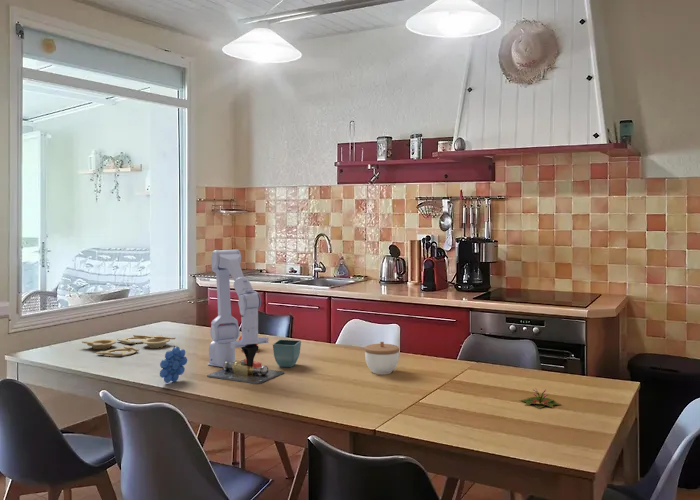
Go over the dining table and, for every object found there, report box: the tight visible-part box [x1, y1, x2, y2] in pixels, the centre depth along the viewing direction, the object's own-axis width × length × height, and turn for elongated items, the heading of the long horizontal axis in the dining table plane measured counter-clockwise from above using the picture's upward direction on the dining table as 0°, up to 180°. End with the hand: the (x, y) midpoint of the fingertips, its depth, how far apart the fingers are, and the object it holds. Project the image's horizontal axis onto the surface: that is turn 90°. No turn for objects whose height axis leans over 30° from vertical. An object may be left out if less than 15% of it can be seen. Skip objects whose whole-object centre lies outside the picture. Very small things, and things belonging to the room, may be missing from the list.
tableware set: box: [81, 334, 176, 358], centre depth 270 cm, size 35×29×4 cm
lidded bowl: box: [364, 341, 400, 375], centre depth 227 cm, size 13×13×11 cm
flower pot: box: [272, 339, 302, 368], centre depth 236 cm, size 9×9×9 cm
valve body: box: [206, 360, 285, 385], centre depth 223 cm, size 22×16×4 cm
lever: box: [240, 358, 262, 368], centre depth 221 cm, size 11×3×2 cm, turn 37°
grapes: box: [159, 346, 188, 384], centre depth 215 cm, size 12×7×12 cm, turn 147°
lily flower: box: [519, 387, 563, 410], centre depth 190 cm, size 12×12×5 cm
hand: (250, 366), depth 218 cm, fingers closed, pressing on lever
